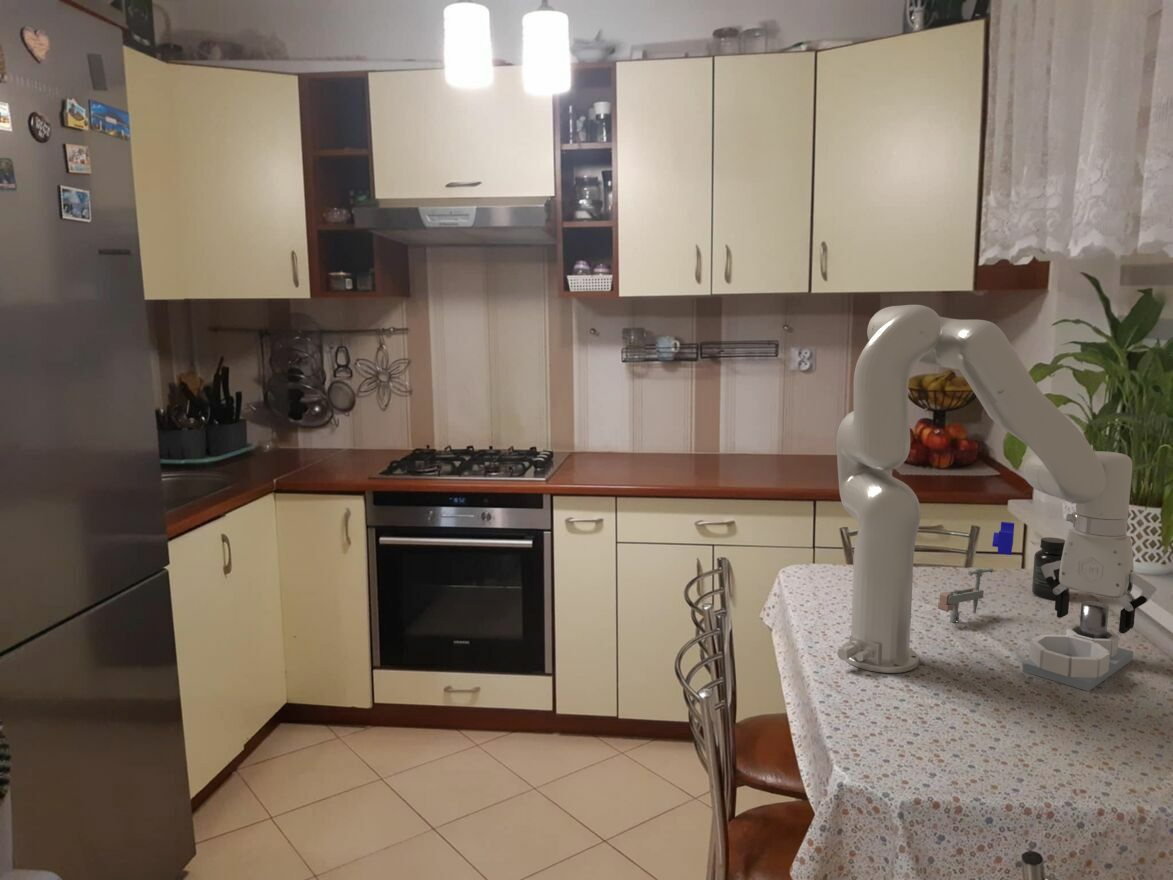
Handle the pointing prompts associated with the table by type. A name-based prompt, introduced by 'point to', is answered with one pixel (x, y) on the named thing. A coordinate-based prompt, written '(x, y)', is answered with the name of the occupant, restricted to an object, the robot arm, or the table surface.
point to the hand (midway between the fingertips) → (1092, 623)
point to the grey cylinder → (1093, 619)
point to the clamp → (962, 596)
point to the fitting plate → (1076, 658)
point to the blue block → (1004, 538)
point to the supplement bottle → (1047, 554)
